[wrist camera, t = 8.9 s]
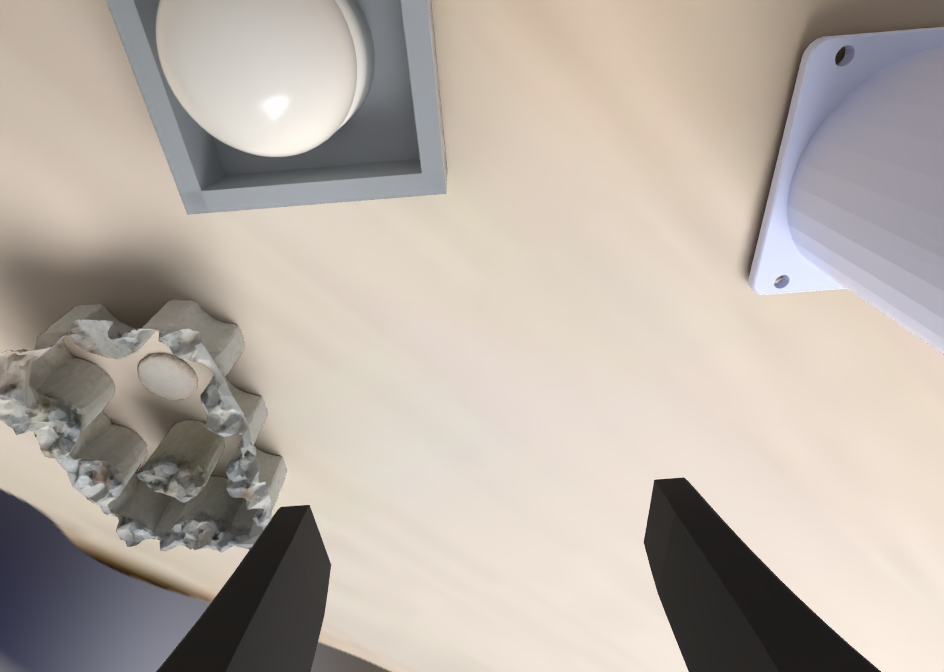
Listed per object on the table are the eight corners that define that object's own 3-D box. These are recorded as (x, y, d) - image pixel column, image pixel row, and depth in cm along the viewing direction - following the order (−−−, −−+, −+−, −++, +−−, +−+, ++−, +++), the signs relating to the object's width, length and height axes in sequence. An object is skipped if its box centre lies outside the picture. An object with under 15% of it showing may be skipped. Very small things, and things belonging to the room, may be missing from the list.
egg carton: (41, 291, 18) (-57, 354, 15) (253, 291, 18) (206, 353, 15) (138, 495, 24) (84, 576, 20) (300, 493, 24) (274, 572, 21)
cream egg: (359, -48, 12) (311, -83, 8) (386, 125, 15) (358, 168, 10) (198, -34, 13) (68, -62, 8) (248, 137, 15) (164, 184, 10)
